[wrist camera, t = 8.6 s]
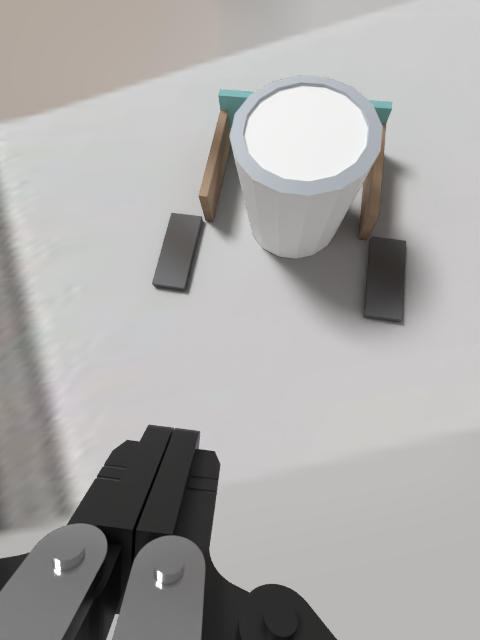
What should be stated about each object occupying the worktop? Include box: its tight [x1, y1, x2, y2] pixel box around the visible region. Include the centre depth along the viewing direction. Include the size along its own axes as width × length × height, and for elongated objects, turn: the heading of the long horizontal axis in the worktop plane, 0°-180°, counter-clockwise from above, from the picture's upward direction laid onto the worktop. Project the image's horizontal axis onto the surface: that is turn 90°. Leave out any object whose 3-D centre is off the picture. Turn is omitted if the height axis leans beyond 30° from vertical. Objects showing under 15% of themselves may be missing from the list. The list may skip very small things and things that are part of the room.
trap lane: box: [152, 110, 406, 322], centre depth 21 cm, size 12×15×2 cm
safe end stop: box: [218, 89, 392, 131], centre depth 22 cm, size 1×10×4 cm, turn 80°
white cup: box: [229, 75, 383, 259], centre depth 19 cm, size 7×7×7 cm
